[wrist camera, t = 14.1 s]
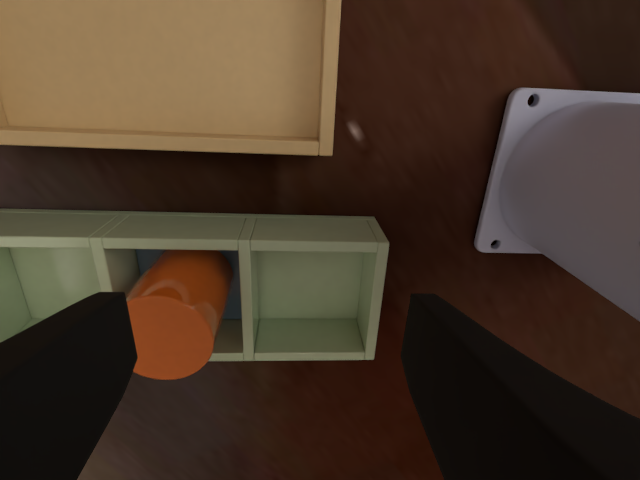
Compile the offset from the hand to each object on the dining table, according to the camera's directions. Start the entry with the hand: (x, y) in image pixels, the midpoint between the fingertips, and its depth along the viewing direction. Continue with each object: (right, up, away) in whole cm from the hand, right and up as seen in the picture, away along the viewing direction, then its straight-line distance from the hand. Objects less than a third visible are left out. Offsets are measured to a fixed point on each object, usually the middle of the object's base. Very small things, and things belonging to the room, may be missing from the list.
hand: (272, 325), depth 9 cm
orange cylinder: (-5, 0, +9) cm, 10 cm away
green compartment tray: (-5, +1, +10) cm, 11 cm away
